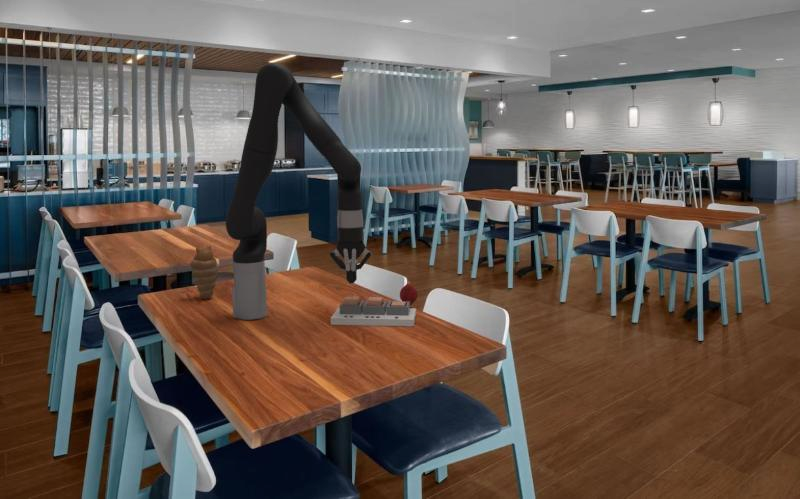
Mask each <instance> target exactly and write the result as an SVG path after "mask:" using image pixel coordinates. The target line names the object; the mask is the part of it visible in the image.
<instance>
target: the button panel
mask: <svg viewBox="0 0 800 499" xmlns="http://www.w3.org/2000/svg"><path fill="white" fill-rule="evenodd" d="M392 302H406V306H391V304H392ZM339 304H340V305H339V306H338V307H337V309H336V310H335V311H334V313H333V314H332V316H331V317H330V325H331V326H340V325H341V326H367V327H368V326H374V327H412V326H415V322H416V318H415V317H417V308H414V307H413V308H411V305H410V302H408V301H401V300H400V301H398V300H397V301H394V300H388V301H387V300H383V304H382V306H368V301H367V300H360V303H359V305H344V300H342V302H341V303H339Z"/></svg>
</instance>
